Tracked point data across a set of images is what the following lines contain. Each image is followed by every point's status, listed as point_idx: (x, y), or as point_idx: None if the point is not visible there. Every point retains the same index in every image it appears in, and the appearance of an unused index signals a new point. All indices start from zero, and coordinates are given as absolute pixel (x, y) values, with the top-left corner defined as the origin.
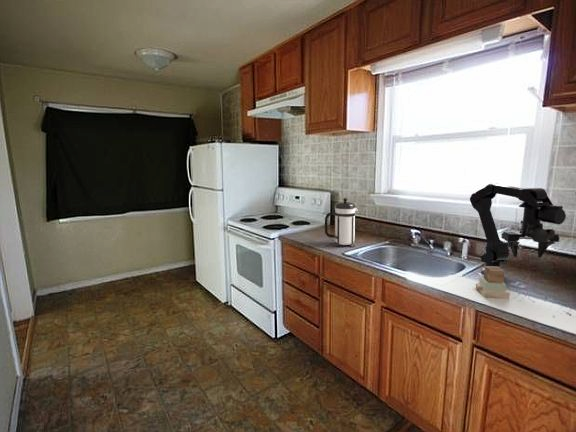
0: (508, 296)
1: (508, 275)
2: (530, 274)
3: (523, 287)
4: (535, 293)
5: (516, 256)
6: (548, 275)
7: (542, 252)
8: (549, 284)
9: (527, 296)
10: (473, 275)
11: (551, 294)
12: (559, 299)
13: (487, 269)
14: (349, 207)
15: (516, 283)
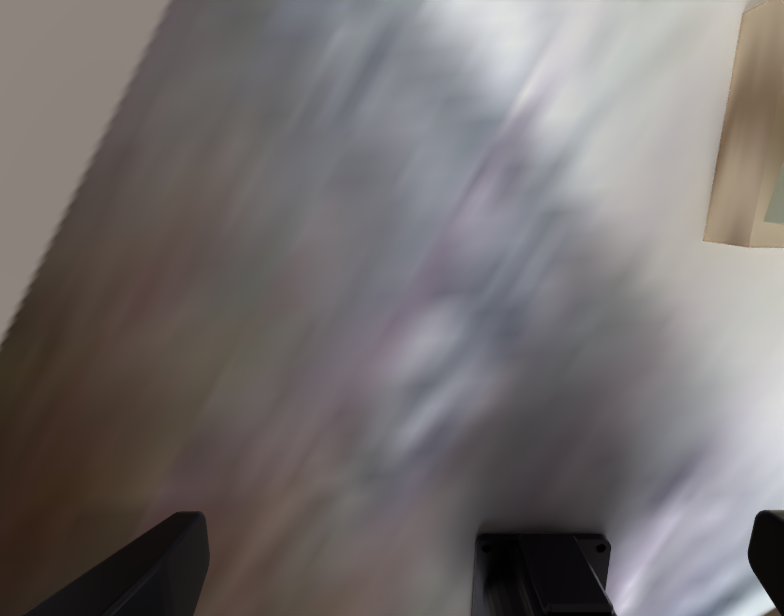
0: (766, 4)
1: (398, 576)
2: (197, 609)
3: (429, 313)
4: (403, 173)
5: (774, 519)
6: None
7: (78, 613)
8: (155, 401)
9: (524, 88)
10: (705, 556)
11: (267, 160)
12: (260, 36)
13: None
14: None
15: (436, 403)
